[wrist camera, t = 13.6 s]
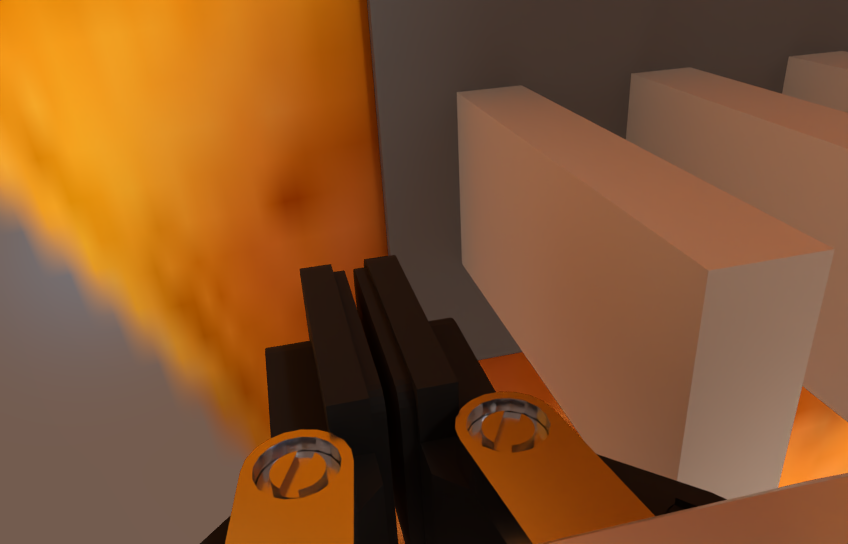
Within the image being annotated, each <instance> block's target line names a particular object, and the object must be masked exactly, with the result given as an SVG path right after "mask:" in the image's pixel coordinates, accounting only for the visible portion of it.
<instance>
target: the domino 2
mask: <svg viewBox="0 0 848 544" xmlns="http://www.w3.org/2000/svg"><path fill="white" fill-rule="evenodd" d="M626 140H627V141H629V142H631V143H633V144H635V145H637V146H639V147H641V148H642V149H644V150H646V151H648V152H650V153H652V154H654V155H656V156H658V157H660V158H662V159H663V160H665V161H667V162H669V163H671V164H673V165H675V166H677V167H679V168H681V169H683V170H685V171H686V172H688V173H690V174H692V175H694V176H696V177H698V178H700V179H702V180H704V181H706V182H707V183H709V184H711V185H713V186H715V187H717V188H719V189H721V190H723V191H725V192H727V193H728V194H730V195H732V196H734V197H736V198H738V199H740V200H742V201H744V202H746V203H748V204H750V205H751V206H753V207H755V208H757V209H759V210H761V211H763V212H765V213H767V214H769V215H771V216H772V217H774V218H776V219H778V220H780V221H782V222H784V223H786V224H788V225H790V226H792V227H793V228H795V229H797V230H799V231H801V232H803V233H805V234H807V235H809V236H811V237H813V238H814V239H816V240H818V241H820V242H822V243H824V244H826V245H828V246H830V247H832V248H834V249H835V250H834V255H833V259H832V263H831V267H830V271H829V276H828V280H827V284H826V288H825V292H824V297H823V301H822V305H821V309H820V313H819V317H818V322H817V326H816V330H815V334H814V338H813V343H812V347H811V351H810V355H809V359H808V364H807V368H806V372H805V376H804V380H803V385H802V386H803V387H804V388H806V389H807V390H808V391H809V392H811V393H812V394H813V395H814V396H816V397H817V398H818V399H819V400H821V401H822V402H823V403H825V404H826V405H827V406H828V407H830V408H831V409H832V410H833V411H835V412H836V413H837V414H838V415H840V416H841V417H842V418H843V419H845V420H846V421H847V422H848V113H847V112H843V111H840V110H836V109H833V108H829V107H826V106H822V105H819V104H815V103H812V102H809V101H805V100H802V99H798V98H795V97H791V96H788V95H784V94H781V93H777V92H774V91H770V90H767V89H764V88H760V87H757V86H753V85H750V84H746V83H743V82H739V81H736V80H732V79H729V78H726V77H722V76H719V75H715V74H712V73H708V72H705V71H701V70H698V69H694V68H691V67H687V68H678V69H668V70H659V71H650V72H640V73H631V83H630V95H629V108H628V120H627V132H626Z"/></svg>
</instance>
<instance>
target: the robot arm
mask: <svg viewBox="0 0 848 544" xmlns="http://www.w3.org/2000/svg"><path fill="white" fill-rule="evenodd" d="M353 272H354V284H355V294H356V303H357V308H356V305H355V302H354V299H353V296H352V293H351V290H350V286H349V283H348V280H347V277H346V274H345V271H338V272H333V270H332V266H331V264H329V265H322V266H315V267H309V268H302V269H300V276H301V283H302V290H303V297H304V304H305V311H306V318H307V325H308V332H309V339H310V341H306V342H300V343H294V344H288V345H282V346H276V347H270V348H266V349H265V356H266V370H267V385H268V400H269V414H270V429H271V438H270V439H268V440H267V441H265V442H264V443H262V444H261V445H259V446H258V447H256V448H255V449H254V450H253V451H252V452H251V454H250V455H249V456H248V457H247V458H246V459H245V461H244V464H243V466H242V468H241V471H240V474H239V479H238V484H237V489H236V494H235V498H234V503H233V508H232V512H231V516H230V517H229V518H228V519H226V520H225V521H224V522H223V523H222V524H221V525H220V526H219V527H218V528H217V529H216V530H214V531H213V532H212V533H211V534H210V535H209V536H208V537H207V538H206V539H205V540H204V541H202V543H200V544H398V536H397V525H396V513H395V508H396V512H397V515H398V519H399V523H400V526H401V530H402V534H403V537H404V541H405V544H848V473H845V474H840V475H835V476H830V477H825V478H820V479H815V480H810V481H806V482H802V483H797V484H793V485H789V486H784V487H780V488H776V489H771V490H767V491H763V492H758V493H754V494H750V495H745V496H741V497H737V498H732V499H728V500H727V499H725V498H723V497H721V496H718V495H716V494H714V493H712V492H709V491H706V490H703V489H700V488H697V487H694V486H691V485H688V484H685V483H682V482H679V481H676V480H673V479H670V478H667V477H664V476H661V475H658V474H655V473H652V472H649V471H646V470H643V469H640V468H637V467H634V466H631V465H628V464H625V463H622V462H619V461H616V460H613V459H610V458H607V457H604V456H601V455H598V454H596V453H595V452H594V451H593V450H592V449H591V448H590V447H589V446H588V445H587V444H586V443H585V441H584V440H583V439H582V438H581V437H580V436H579V435H578V434H577V433H576V432H575V431H574V430H573V429H572V428H571V427H570V426H569V425H568V424H567V422H566V421H565V420H564V419H563V418H562V417H561V416H560V415H559V414H558V413H557V412H556V411H555V410H554V409H553V408H552V407H550V406H549V405H548V404H547V403H545V402H544V401H542V400H540V399H538V398H535V397H533V396H531V395H527V394H522V393H517V392H495V390H494V388H493V387H492V385H491V383H490V381H489V380H488V378H487V376H486V374H485V372H484V371H483V369H482V367H481V365H480V364H479V362H478V360H477V358H476V357H475V355H474V353H473V351H472V349H471V348H470V346H469V344H468V342H467V341H466V339H465V337H464V335H463V334H462V332H461V330H460V328H459V327H458V325H457V323H456V321H455V320H454V319H453V318H444V319H438V320H432V321H428V319H427V317H426V315H425V313H424V311H423V309H422V307H421V305H420V303H419V301H418V299H417V297H416V295H415V293H414V291H413V289H412V287H411V285H410V283H409V281H408V279H407V277H406V275H405V273H404V271H403V269H402V267H401V265H400V263H399V261H398V259H397V257H396V256H395V255H391V256H384V257H377V258H370V259H364V268H358V269H354V271H353Z"/></svg>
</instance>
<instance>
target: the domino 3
mask: <svg viewBox="0 0 848 544" xmlns="http://www.w3.org/2000/svg"><path fill="white" fill-rule="evenodd" d="M782 94H784V95H788V96H791V97H795V98H798V99H802V100H805V101H809V102H812V103H815V104H819V105H822V106H826V107H829V108H833V109H836V110H840V111H843V112H847V113H848V52H845V51H836V52H827V53H817V54H808V55H799V56H789V58H788V64H787V69H786V75H785V80H784V86H783V91H782Z"/></svg>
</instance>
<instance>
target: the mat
mask: <svg viewBox="0 0 848 544" xmlns="http://www.w3.org/2000/svg"><path fill="white" fill-rule="evenodd" d="M367 6H368V18H369V30H370V42H371V54H372V66H373V78H374V90H375V102H376V114H377V125H378V137H379V149H380V161H381V173H382V185H383V197H384V209H385V221H386V233H387V245H388V256H391V255H395V256H396V257H397V259H398V261H399V263H400V265H401V267H402V269H403V271H404V273H405V275H406V277H407V279H408V281H409V283H410V285H411V287H412V289H413V291H414V293H415V295H416V297H417V299H418V301H419V303H420V305H421V307H422V309H423V311H424V313H425V315H426V317H427V319H428V321H432V320H438V319H444V318H453V319H454V320H455V321H456V323H457V325H458V327H459V328H460V330H461V332H462V334H463V335H464V337H465V339H466V341H467V342H468V344H469V346H470V348H471V349H472V351H473V353H474V355H475V357H476V358H477V360H482V359H487V358H492V357H498V356H503V355H509V354H514V353H519V352H522V350H521V349H520V347H519V346H518V344H517V343H516V341H515V340H514V339H513V337H512V336H511V334H510V333H509V331H508V330H507V328H506V327H505V325H504V324H503V323H502V321H501V320H500V318H499V317H498V315H497V314H496V312H495V311H494V309H493V308H492V307H491V305H490V304H489V302H488V301H487V299H486V298H485V296H484V295H483V293H482V292H481V291H480V289H479V288H478V286H477V285H476V283H475V282H474V280H473V279H472V278H471V276H470V275H469V273H468V272H467V270H466V269H465V267H464V266H463V264H462V250H461V217H460V184H459V152H458V119H457V92H463V91H472V90H482V89H491V88H500V87H510V86H519V85H522V86H524V87H526V88H528V89H530V90H532V91H534V92H535V93H537V94H539V95H541V96H543V97H545V98H547V99H549V100H551V101H553V102H555V103H556V104H558V105H560V106H562V107H564V108H566V109H568V110H570V111H572V112H574V113H576V114H577V115H579V116H581V117H583V118H585V119H587V120H589V121H591V122H593V123H595V124H597V125H599V126H600V127H602V128H604V129H606V130H608V131H610V132H612V133H614V134H616V135H618V136H620V137H621V138H623V139H625V140H626V132H627V120H628V108H629V95H630V83H631V73H640V72H650V71H659V70H668V69H678V68H687V67H691V68H694V69H698V70H701V71H705V72H708V73H712V74H715V75H719V76H722V77H726V78H729V79H732V80H736V81H739V82H743V83H746V84H750V85H753V86H757V87H760V88H764V89H767V90H770V91H774V92H777V93H781V94H782V91H783V86H784V80H785V75H786V69H787V64H788V58H789V56H799V55H808V54H817V53H827V52H836V51H845V52H848V0H367Z"/></svg>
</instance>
